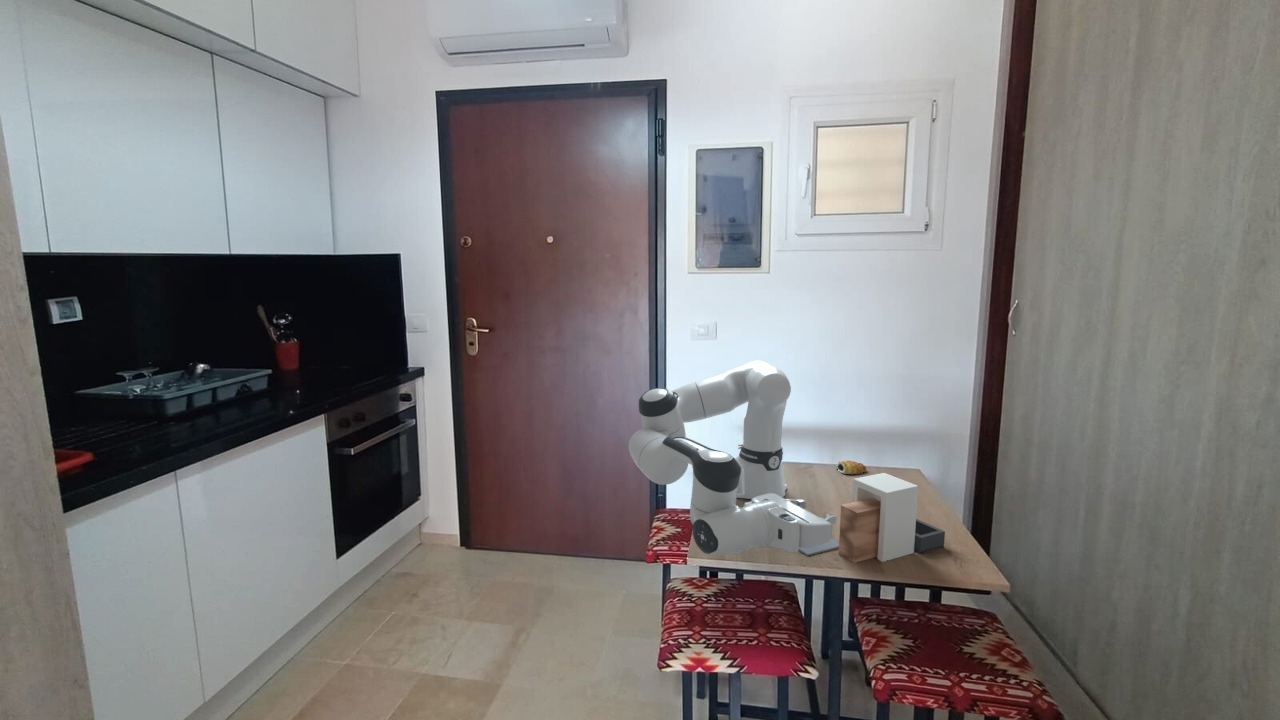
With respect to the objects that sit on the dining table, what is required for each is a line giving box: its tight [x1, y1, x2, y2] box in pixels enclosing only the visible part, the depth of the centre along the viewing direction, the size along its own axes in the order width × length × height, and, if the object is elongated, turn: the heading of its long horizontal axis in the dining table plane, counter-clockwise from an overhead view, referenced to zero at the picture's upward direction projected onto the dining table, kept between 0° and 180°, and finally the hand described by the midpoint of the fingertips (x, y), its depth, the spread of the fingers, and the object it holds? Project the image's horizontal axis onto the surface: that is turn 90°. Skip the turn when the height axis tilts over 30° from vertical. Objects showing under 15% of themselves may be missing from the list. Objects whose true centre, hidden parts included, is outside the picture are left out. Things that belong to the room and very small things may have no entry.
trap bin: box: [914, 518, 946, 555], centre depth 146 cm, size 12×8×4 cm, turn 25°
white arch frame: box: [851, 472, 919, 563], centre depth 141 cm, size 10×10×16 cm
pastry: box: [835, 460, 867, 475], centre depth 196 cm, size 9×7×4 cm
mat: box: [798, 537, 839, 557], centre depth 145 cm, size 11×11×1 cm
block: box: [838, 498, 881, 563], centre depth 138 cm, size 5×10×12 cm, turn 115°
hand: (818, 510), depth 131 cm, fingers open, 8 cm apart
